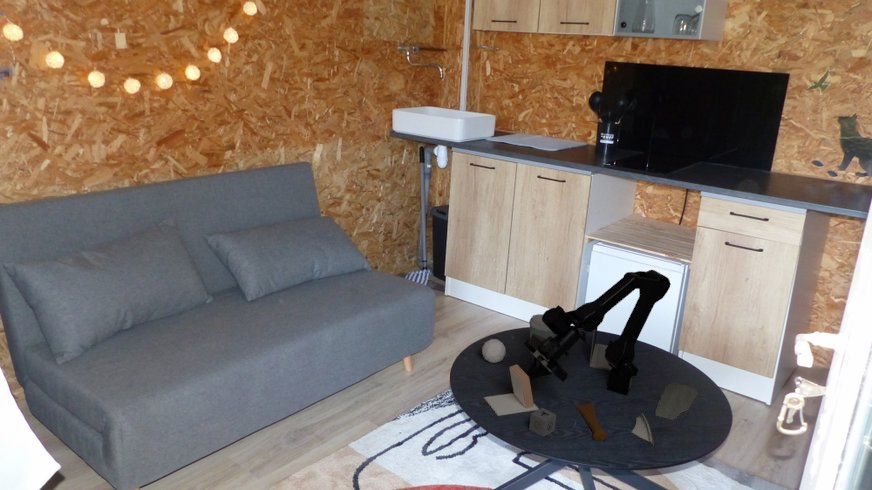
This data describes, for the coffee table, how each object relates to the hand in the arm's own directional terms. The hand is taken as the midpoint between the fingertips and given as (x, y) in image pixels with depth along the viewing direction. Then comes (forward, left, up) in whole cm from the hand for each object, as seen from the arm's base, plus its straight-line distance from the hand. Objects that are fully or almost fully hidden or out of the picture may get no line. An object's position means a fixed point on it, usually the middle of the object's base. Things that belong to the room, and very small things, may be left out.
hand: (525, 380), depth 206 cm
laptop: (-14, -44, -8) cm, 47 cm away
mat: (+3, +3, -7) cm, 8 cm away
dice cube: (-10, +11, -8) cm, 17 cm away
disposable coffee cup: (+6, -30, -8) cm, 32 cm away
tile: (0, 0, -7) cm, 7 cm away
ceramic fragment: (-35, -5, -8) cm, 36 cm away
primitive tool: (-20, -1, -8) cm, 22 cm away
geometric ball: (+19, -19, -8) cm, 28 cm away
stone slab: (-39, -26, -8) cm, 48 cm away
